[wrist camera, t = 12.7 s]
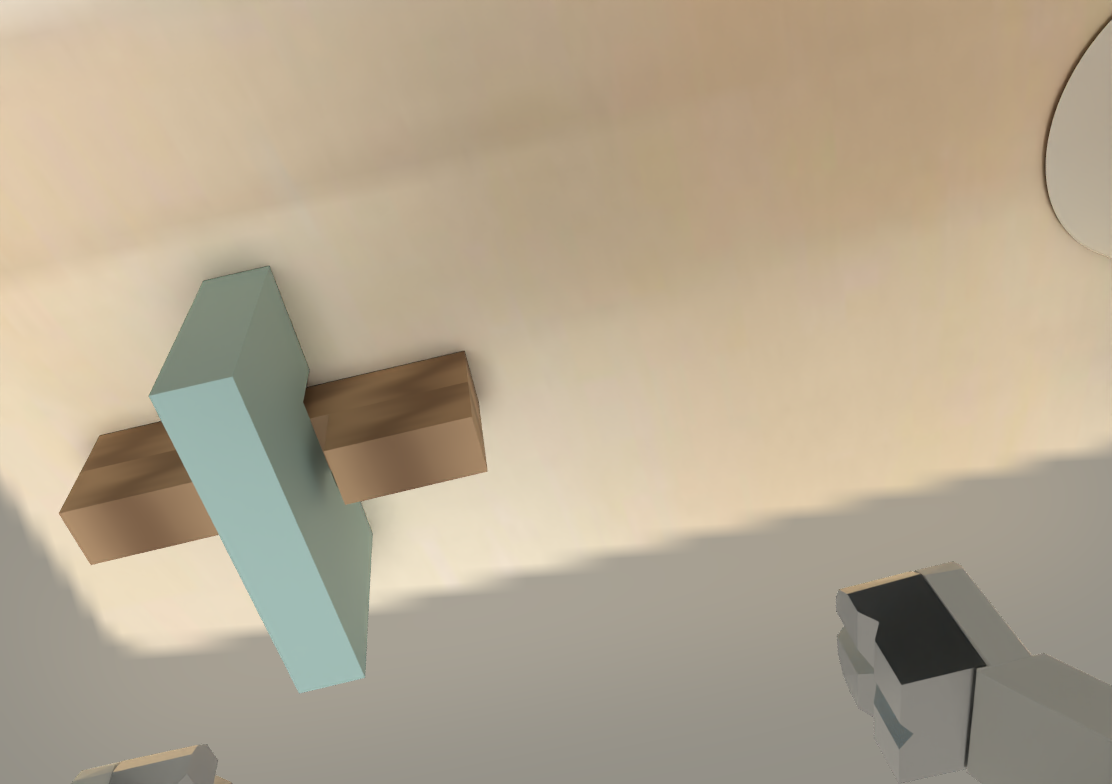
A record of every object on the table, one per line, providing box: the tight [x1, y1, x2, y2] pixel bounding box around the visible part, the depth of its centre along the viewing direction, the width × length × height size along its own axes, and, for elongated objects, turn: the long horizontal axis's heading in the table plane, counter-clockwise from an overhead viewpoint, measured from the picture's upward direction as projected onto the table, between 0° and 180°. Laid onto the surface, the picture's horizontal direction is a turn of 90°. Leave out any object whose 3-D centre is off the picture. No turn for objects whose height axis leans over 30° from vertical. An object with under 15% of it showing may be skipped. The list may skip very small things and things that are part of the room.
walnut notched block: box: [59, 351, 487, 565], centre depth 42 cm, size 18×3×6 cm, turn 101°
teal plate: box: [149, 266, 372, 693], centre depth 40 cm, size 3×16×10 cm, turn 11°
